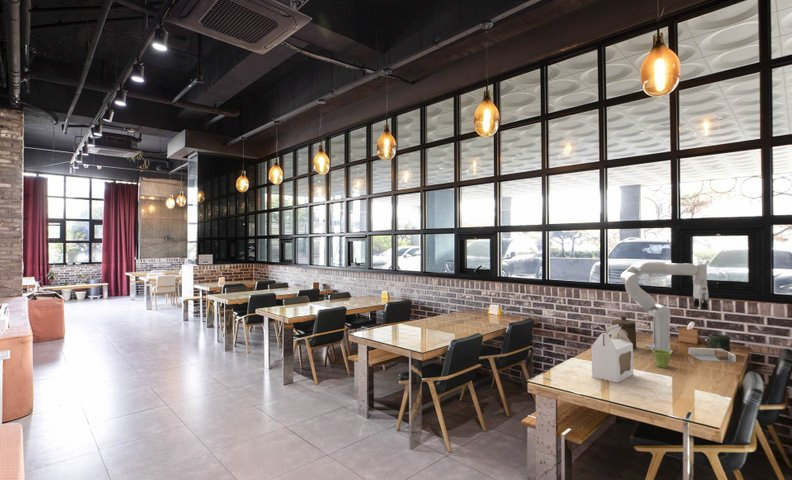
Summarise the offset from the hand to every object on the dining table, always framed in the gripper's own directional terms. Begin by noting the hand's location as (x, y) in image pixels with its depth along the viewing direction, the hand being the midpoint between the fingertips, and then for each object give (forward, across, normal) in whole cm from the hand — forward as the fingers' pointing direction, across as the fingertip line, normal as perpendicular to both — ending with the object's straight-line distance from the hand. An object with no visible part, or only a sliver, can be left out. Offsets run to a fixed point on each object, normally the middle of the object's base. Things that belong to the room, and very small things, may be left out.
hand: (700, 307), depth 270 cm
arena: (+30, -14, +1) cm, 33 cm away
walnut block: (+29, -17, -3) cm, 34 cm away
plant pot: (+31, -37, +38) cm, 61 cm away
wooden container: (+31, +10, +44) cm, 55 cm away
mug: (+31, +2, -10) cm, 32 cm away
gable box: (+31, -61, +72) cm, 99 cm away
